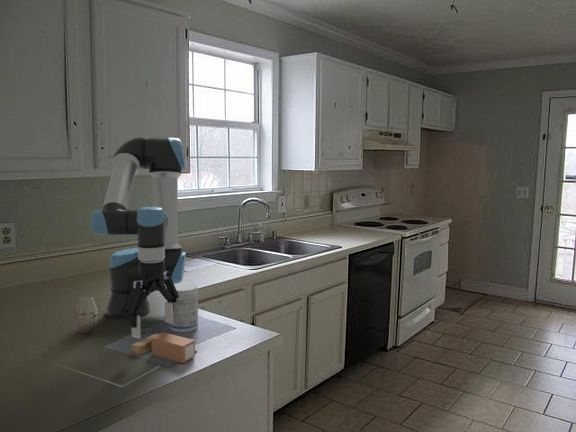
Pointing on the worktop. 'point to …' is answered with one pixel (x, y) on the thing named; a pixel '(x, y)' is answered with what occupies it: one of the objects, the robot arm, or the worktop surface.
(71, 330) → the worktop surface
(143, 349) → the ledge
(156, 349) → the block
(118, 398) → the worktop surface
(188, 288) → the supplement tub
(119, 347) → the mat
